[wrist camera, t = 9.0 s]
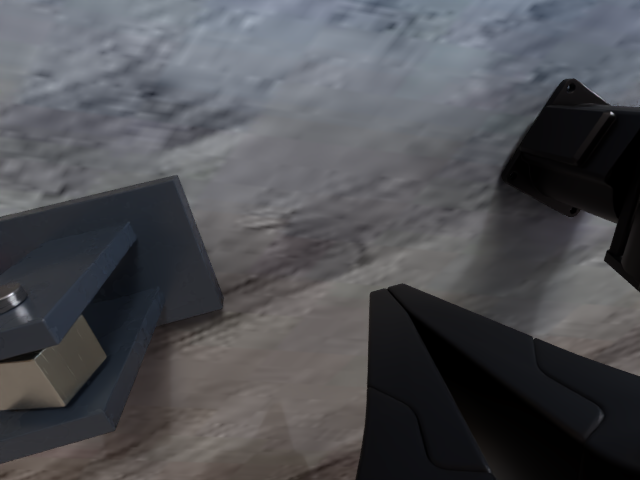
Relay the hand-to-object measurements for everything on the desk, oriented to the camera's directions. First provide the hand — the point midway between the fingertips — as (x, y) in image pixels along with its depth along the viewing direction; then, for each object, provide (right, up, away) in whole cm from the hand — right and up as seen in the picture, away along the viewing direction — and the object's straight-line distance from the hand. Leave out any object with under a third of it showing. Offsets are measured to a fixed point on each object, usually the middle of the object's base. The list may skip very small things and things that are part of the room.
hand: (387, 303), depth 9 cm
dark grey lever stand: (-13, 0, +12) cm, 18 cm away
